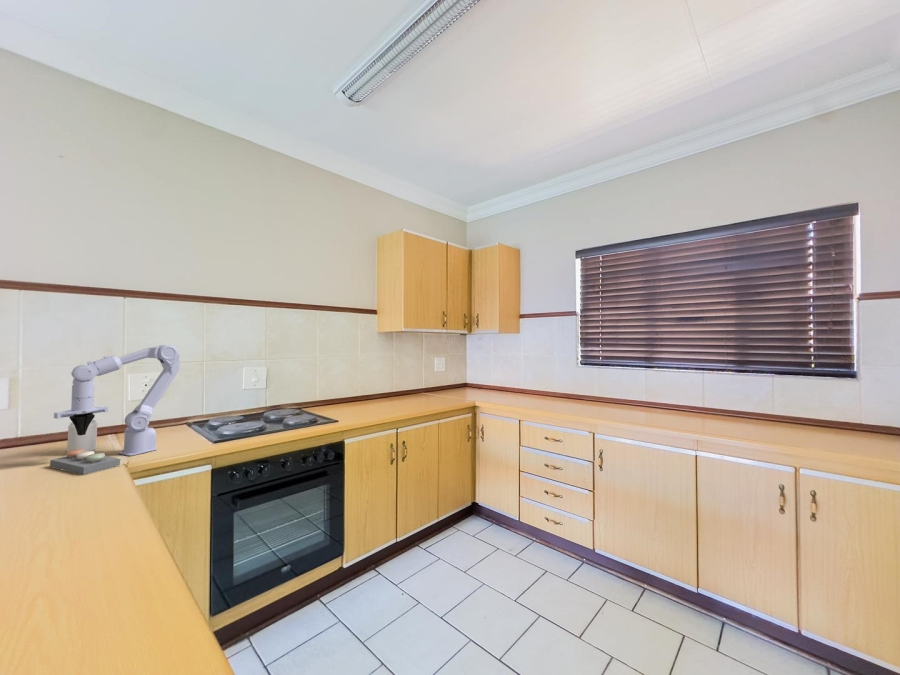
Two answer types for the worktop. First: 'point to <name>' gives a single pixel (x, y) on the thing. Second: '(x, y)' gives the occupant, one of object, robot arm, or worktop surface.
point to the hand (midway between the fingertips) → (81, 434)
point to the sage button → (95, 458)
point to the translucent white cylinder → (82, 438)
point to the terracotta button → (74, 453)
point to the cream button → (84, 455)
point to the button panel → (83, 465)
